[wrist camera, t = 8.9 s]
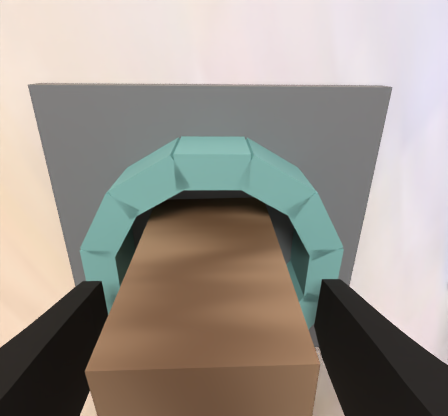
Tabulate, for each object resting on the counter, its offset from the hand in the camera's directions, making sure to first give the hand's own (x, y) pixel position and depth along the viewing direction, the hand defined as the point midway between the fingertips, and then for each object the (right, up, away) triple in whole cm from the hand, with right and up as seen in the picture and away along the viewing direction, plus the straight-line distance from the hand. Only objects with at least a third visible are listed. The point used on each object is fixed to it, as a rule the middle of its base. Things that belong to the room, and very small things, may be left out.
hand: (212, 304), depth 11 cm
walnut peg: (0, +2, +4) cm, 4 cm away
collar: (0, +2, +4) cm, 5 cm away
